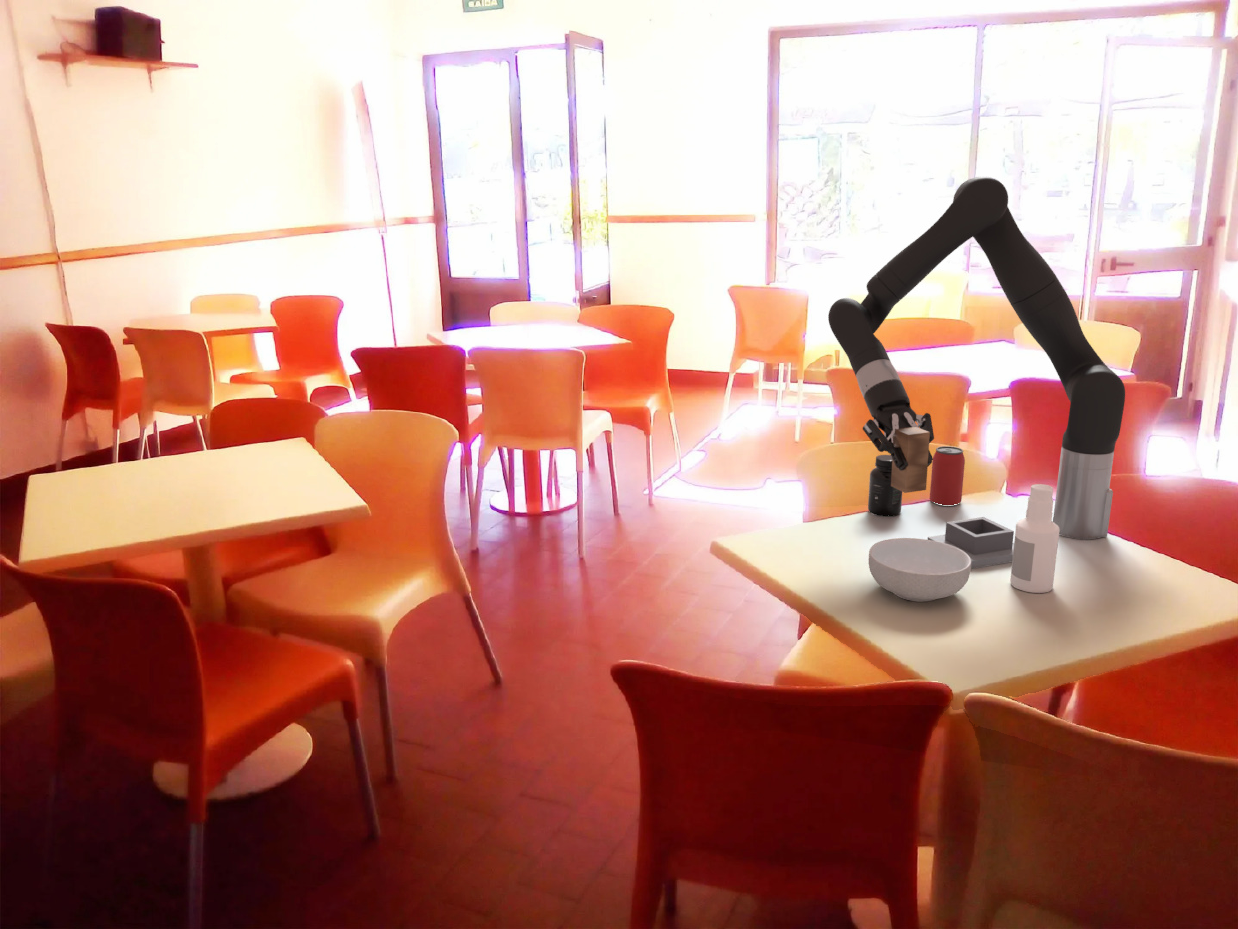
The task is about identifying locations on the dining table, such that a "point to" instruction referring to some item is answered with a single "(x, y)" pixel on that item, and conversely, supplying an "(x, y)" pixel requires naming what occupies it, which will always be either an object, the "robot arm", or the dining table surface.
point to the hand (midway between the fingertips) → (916, 466)
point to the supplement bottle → (883, 489)
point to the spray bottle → (1036, 544)
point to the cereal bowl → (919, 568)
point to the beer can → (947, 475)
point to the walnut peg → (912, 460)
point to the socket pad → (979, 540)
